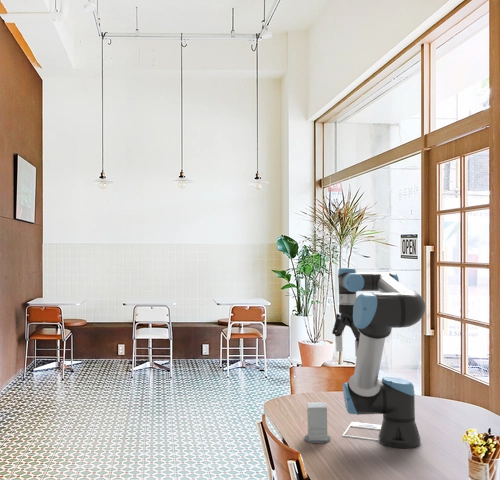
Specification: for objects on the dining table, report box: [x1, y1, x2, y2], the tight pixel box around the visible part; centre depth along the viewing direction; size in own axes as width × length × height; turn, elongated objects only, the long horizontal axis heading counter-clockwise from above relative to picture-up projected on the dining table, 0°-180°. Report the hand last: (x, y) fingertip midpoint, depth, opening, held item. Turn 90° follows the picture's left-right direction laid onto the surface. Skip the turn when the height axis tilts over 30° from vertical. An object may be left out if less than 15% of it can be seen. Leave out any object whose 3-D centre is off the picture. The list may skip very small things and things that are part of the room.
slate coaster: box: [303, 434, 331, 445], centre depth 196 cm, size 10×10×1 cm
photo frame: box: [341, 421, 382, 442], centre depth 204 cm, size 15×1×18 cm
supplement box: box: [306, 401, 329, 441], centre depth 197 cm, size 7×7×13 cm
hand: (348, 353), depth 218 cm, fingers open, 13 cm apart
